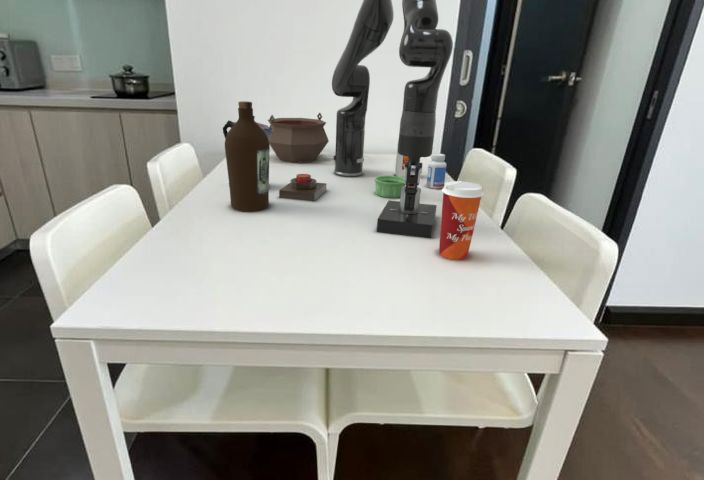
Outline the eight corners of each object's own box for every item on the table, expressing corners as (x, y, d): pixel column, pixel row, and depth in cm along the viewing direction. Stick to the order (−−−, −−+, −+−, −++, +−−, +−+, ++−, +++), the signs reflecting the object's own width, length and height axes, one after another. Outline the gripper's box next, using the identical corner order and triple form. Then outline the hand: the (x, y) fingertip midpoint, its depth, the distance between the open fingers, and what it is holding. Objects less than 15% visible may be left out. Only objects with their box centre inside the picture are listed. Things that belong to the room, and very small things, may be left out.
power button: (299, 179, 131) (299, 173, 130) (312, 180, 130) (312, 174, 129) (294, 182, 127) (294, 176, 126) (308, 183, 126) (308, 177, 125)
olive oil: (221, 210, 114) (213, 102, 104) (239, 199, 124) (233, 99, 113) (262, 214, 112) (258, 104, 102) (276, 202, 122) (274, 101, 111)
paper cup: (450, 264, 88) (461, 192, 82) (425, 250, 94) (434, 182, 88) (481, 258, 91) (494, 188, 86) (455, 245, 98) (465, 179, 92)
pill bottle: (446, 186, 143) (450, 154, 139) (439, 189, 139) (444, 157, 135) (430, 183, 146) (433, 152, 142) (423, 187, 142) (426, 154, 138)
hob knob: (400, 207, 110) (402, 183, 108) (419, 209, 109) (421, 185, 107) (398, 213, 106) (400, 188, 104) (417, 215, 106) (420, 190, 103)
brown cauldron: (303, 150, 190) (304, 108, 183) (341, 161, 174) (343, 115, 167) (252, 156, 176) (250, 111, 169) (288, 168, 160) (287, 118, 153)
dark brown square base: (293, 187, 136) (293, 174, 135) (326, 190, 134) (326, 177, 132) (279, 198, 126) (278, 183, 124) (314, 201, 124) (314, 187, 122)
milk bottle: (392, 177, 153) (397, 113, 144) (398, 172, 159) (403, 111, 151) (415, 180, 150) (422, 115, 141) (420, 175, 156) (427, 113, 148)
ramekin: (369, 196, 131) (370, 180, 129) (379, 188, 138) (380, 174, 136) (400, 200, 128) (402, 184, 126) (408, 192, 135) (410, 177, 133)
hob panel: (387, 211, 118) (388, 199, 116) (435, 216, 115) (436, 204, 114) (376, 231, 103) (377, 218, 102) (430, 238, 101) (432, 224, 100)
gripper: (435, 138, 94) (425, 215, 100) (433, 129, 106) (425, 198, 113) (397, 136, 95) (391, 212, 101) (400, 127, 107) (394, 195, 114)
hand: (409, 205), depth 107 cm, fingers open, 8 cm apart
